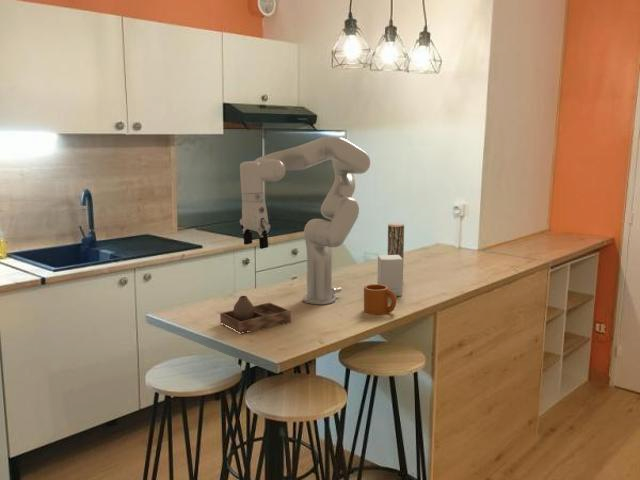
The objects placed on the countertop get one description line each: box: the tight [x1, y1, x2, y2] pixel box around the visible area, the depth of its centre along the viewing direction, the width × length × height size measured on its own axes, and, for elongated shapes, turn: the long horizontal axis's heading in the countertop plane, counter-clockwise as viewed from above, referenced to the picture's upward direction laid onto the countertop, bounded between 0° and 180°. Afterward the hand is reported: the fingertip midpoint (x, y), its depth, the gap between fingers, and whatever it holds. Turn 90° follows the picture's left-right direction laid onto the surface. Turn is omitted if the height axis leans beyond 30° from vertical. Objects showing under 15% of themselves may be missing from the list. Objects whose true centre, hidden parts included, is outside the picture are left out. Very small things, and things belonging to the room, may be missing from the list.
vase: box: [233, 295, 254, 321], centre depth 205 cm, size 7×7×9 cm
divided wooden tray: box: [219, 302, 292, 333], centre depth 208 cm, size 20×13×4 cm, turn 128°
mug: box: [363, 283, 397, 315], centre depth 220 cm, size 9×12×9 cm
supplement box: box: [377, 254, 404, 297], centre depth 244 cm, size 9×9×15 cm
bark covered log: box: [387, 222, 405, 260], centre depth 261 cm, size 7×7×25 cm
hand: (256, 245), depth 214 cm, fingers open, 9 cm apart
